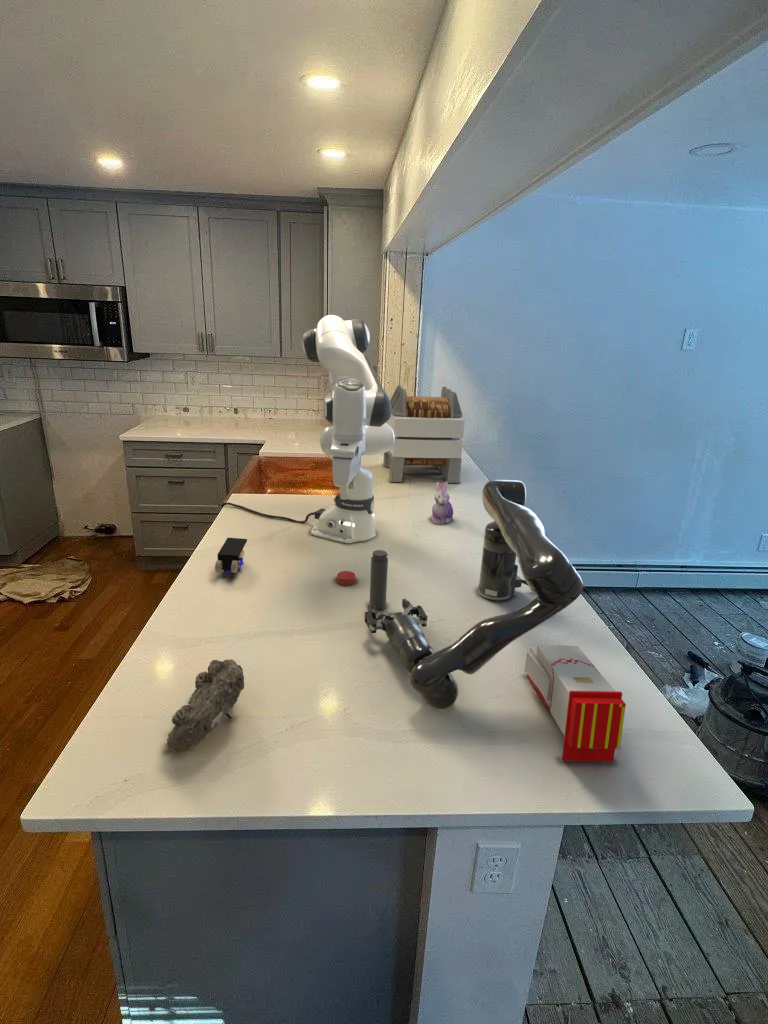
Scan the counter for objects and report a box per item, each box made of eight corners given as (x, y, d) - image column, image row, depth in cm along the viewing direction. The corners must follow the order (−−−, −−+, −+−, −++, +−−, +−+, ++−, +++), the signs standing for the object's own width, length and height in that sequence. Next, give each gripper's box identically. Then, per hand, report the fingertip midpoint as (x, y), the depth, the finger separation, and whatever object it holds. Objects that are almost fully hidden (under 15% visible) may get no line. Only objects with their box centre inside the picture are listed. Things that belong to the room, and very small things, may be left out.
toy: (573, 628, 126) (635, 699, 97) (567, 683, 129) (626, 769, 99) (519, 627, 125) (565, 698, 96) (514, 682, 128) (557, 768, 99)
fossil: (192, 660, 117) (244, 628, 112) (224, 691, 120) (276, 661, 115) (142, 746, 98) (202, 712, 93) (182, 779, 101) (242, 748, 96)
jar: (375, 611, 148) (378, 557, 143) (366, 604, 152) (368, 551, 146) (388, 606, 151) (391, 553, 146) (379, 600, 154) (381, 548, 149)
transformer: (382, 463, 289) (386, 382, 275) (445, 464, 293) (451, 384, 279) (390, 482, 257) (394, 392, 243) (460, 483, 261) (468, 394, 247)
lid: (354, 576, 167) (354, 570, 166) (356, 584, 162) (356, 579, 161) (336, 576, 166) (336, 570, 166) (336, 585, 161) (337, 579, 161)
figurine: (438, 526, 208) (441, 487, 203) (424, 517, 217) (426, 479, 211) (459, 522, 212) (463, 484, 207) (444, 514, 221) (447, 477, 216)
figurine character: (238, 584, 162) (249, 557, 175) (236, 562, 158) (247, 536, 172) (215, 584, 161) (227, 556, 175) (212, 561, 158) (225, 535, 171)
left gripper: (344, 435, 160) (344, 481, 165) (328, 451, 141) (328, 504, 146) (366, 436, 160) (365, 483, 164) (353, 453, 141) (352, 506, 145)
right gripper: (376, 657, 126) (359, 620, 140) (436, 649, 130) (413, 613, 144) (377, 628, 123) (359, 593, 138) (438, 620, 127) (415, 587, 142)
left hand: (347, 493), depth 155 cm, fingers open, 8 cm apart
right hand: (387, 603), depth 141 cm, fingers open, 8 cm apart
